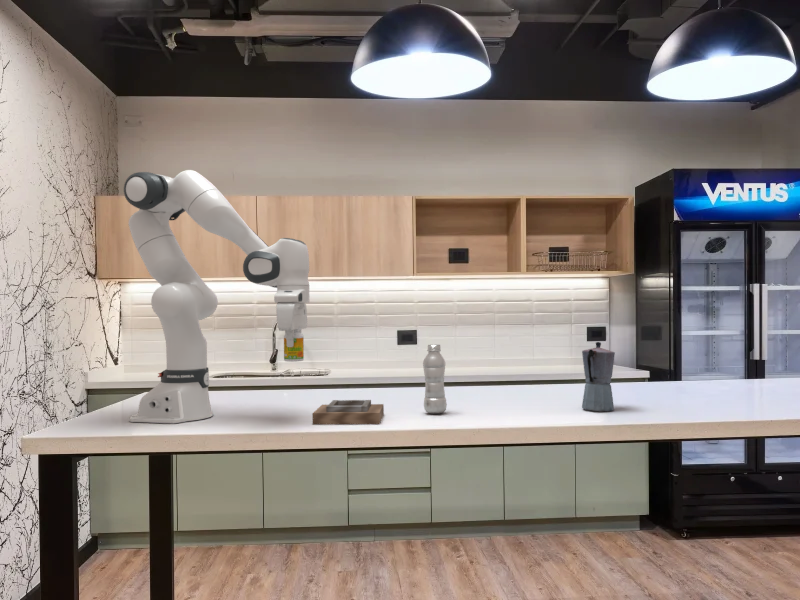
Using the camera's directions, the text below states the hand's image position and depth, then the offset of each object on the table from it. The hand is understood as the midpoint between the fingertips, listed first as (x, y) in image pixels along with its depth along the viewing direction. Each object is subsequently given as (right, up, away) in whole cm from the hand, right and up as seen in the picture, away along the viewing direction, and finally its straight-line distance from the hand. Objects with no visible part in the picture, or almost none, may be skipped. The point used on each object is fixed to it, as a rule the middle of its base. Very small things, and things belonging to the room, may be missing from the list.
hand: (293, 346), depth 157 cm
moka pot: (+88, -20, +9) cm, 91 cm away
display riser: (+15, -21, +1) cm, 26 cm away
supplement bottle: (0, -4, 0) cm, 4 cm away
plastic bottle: (+40, -21, +8) cm, 45 cm away
